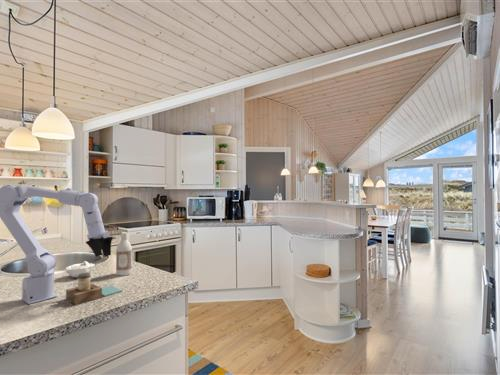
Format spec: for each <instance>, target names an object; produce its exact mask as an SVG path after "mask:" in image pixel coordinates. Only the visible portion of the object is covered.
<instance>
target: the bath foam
mask: <svg viewBox="0 0 500 375" xmlns="http://www.w3.org/2000/svg"><path fill="white" fill-rule="evenodd" d="M128 236H129V235H128V232H127V231H123V232H120V241H119V243H118V244H117V246H116V250H115V253H116V254H115V256H116V258H115V262H116V263H115V266H116V267H115V270H116V276H122V277H123V276H128V275H130V274H131V273H133V272H132V271H133V269H132V268H133V247H132V245H131V243H130V241H129V240H128Z"/></svg>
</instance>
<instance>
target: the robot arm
mask: <svg viewBox="0 0 500 375" xmlns="http://www.w3.org/2000/svg"><path fill="white" fill-rule="evenodd" d="M34 197H38V198H45V199H53V200H57V202H58V203H59V204H62V205H63V204H64V205H69V206H74V207H80V208H81V209H82V212H83V217H84V221H85V225H86V228H87V229H86V230H87V232H88V234H87V235H86V236H87V241H85V244H86V245H88V247H89V248H90V250H92V252H93V254H94V256H95V257H96V258H97V257H100V256H102V255H103V256H104V258H106V257H108V256H111V253H112V242H113V236H110V233H109V230H105V229H106V228H105V226H104V223H103V218H102V214H101V210H100V207H99V204H98V203H99V198H98V196H97V194H96V193H92V192H88V193H86V192H85V191H84V190H81V191H79V190H75V189H72V188H70V187H67V188H63V189H61V190H53V189H49V188H45V187H44V188H43V187H39V186H35V185H34V186H33V185H32V186H31V185H7V184H5V185H2V186H1V187H0V219H1V221H2V223H3V224H4V226H5V228H7V230H8V231H9V232H10V234H11V236H12V237H13V238H14V240H15V241H16V243H17V244H18V247H20V249H21V250H22V252H23V253H24V255H25V258H24V263H25V264H26V266H27V271H28V273H29V276H26V277H23V279H22V288H21V290H22V291H21V292H22V294H21V296H22V297H21V300H22V301H23V302H25V303H26V304H28V305H30V304H35V303H38V302H42V301H46V300H49V299H54V298H57V297H59V294H57V293H55V270H54V268H55V267H56V266H57V262H58V261H57V257H56V256H55V255H54V254H52V253H51V252H50V251H49V250H48V249H46V248H44V247H42V245H41V244H40V243H39V241H38V239H37V238H36V237H35V235H34V233H33V232H32V230H31V229H30V228H29V226H28V225H27V223H26V221H25V220H24V219H23V217H22V216H21V214H20V213H19V211H20V209H21V207H22V206H23V204H25V203H26V201H27V200H28V199H29V198H34Z"/></svg>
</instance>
